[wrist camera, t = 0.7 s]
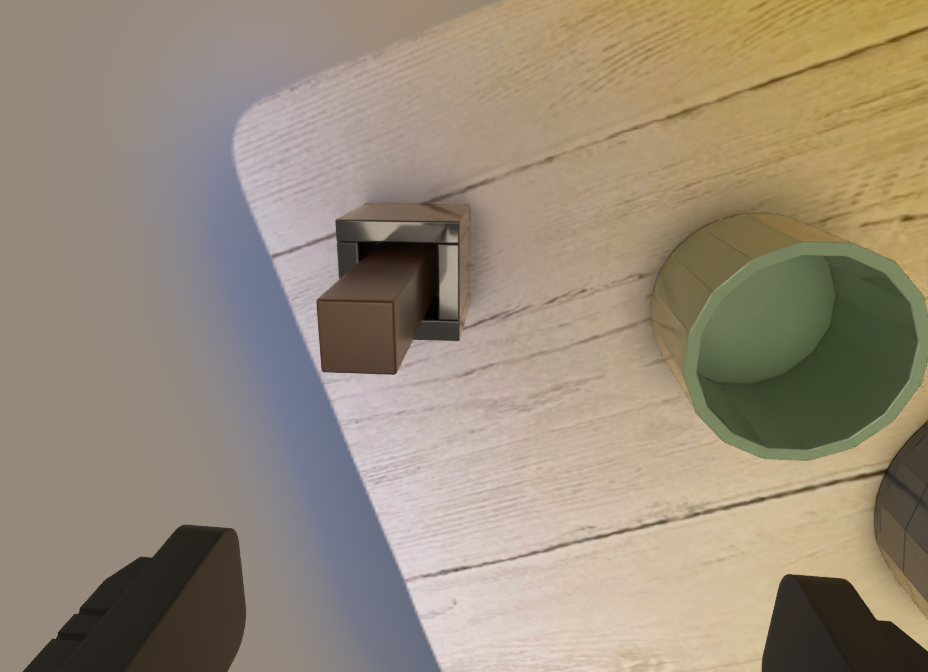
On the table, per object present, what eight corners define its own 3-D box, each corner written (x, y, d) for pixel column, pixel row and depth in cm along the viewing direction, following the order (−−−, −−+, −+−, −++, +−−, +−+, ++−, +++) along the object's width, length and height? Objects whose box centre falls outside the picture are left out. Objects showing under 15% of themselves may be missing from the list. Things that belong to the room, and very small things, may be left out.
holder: (364, 203, 30) (334, 219, 26) (469, 204, 30) (459, 221, 25) (369, 304, 32) (342, 337, 27) (469, 307, 31) (459, 341, 27)
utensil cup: (660, 211, 29) (699, 239, 23) (857, 214, 28) (958, 244, 22) (642, 385, 32) (673, 455, 25) (822, 391, 31) (901, 465, 25)
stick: (392, 231, 31) (315, 299, 19) (442, 231, 30) (393, 301, 19) (394, 280, 31) (320, 373, 20) (442, 281, 31) (396, 375, 20)
